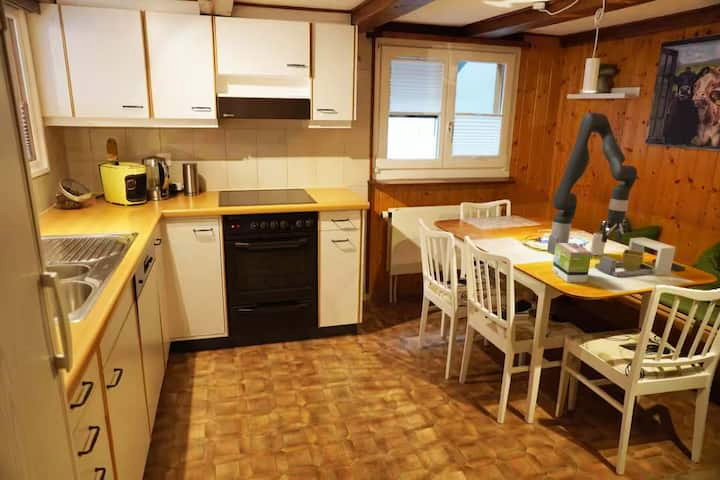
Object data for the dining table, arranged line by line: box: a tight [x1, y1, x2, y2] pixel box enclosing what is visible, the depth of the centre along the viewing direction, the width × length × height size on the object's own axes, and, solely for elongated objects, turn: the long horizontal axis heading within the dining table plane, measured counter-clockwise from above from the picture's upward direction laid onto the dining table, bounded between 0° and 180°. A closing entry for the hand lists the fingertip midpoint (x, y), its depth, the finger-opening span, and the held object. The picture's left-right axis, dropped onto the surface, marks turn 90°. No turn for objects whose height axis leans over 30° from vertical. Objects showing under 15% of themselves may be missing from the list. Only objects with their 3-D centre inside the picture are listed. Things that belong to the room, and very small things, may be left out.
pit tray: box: [652, 258, 686, 272], centre depth 248 cm, size 5×14×2 cm, turn 19°
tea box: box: [551, 242, 592, 284], centre depth 226 cm, size 15×10×15 cm, turn 5°
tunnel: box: [628, 236, 676, 276], centre depth 242 cm, size 9×18×14 cm, turn 19°
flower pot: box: [621, 248, 645, 271], centre depth 240 cm, size 9×9×9 cm
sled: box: [594, 255, 654, 278], centre depth 238 cm, size 23×14×7 cm, turn 109°
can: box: [589, 231, 606, 257], centre depth 264 cm, size 6×6×12 cm
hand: (611, 241), depth 232 cm, fingers open, 8 cm apart
